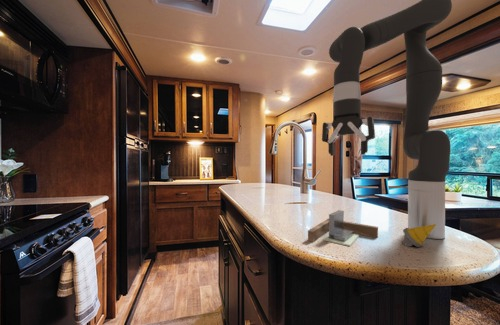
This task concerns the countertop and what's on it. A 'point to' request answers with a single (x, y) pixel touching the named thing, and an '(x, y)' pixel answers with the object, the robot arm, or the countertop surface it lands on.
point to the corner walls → (357, 228)
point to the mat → (347, 243)
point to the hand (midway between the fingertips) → (347, 155)
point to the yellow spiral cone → (417, 235)
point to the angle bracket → (338, 227)
